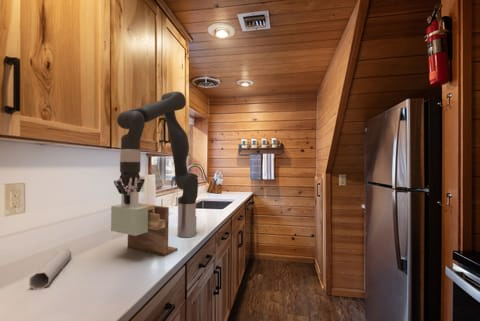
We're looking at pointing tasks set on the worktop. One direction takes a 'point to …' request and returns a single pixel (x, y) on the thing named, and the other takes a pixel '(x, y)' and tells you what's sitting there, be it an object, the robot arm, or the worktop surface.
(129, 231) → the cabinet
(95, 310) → the worktop surface
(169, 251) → the wall board
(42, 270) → the tube
